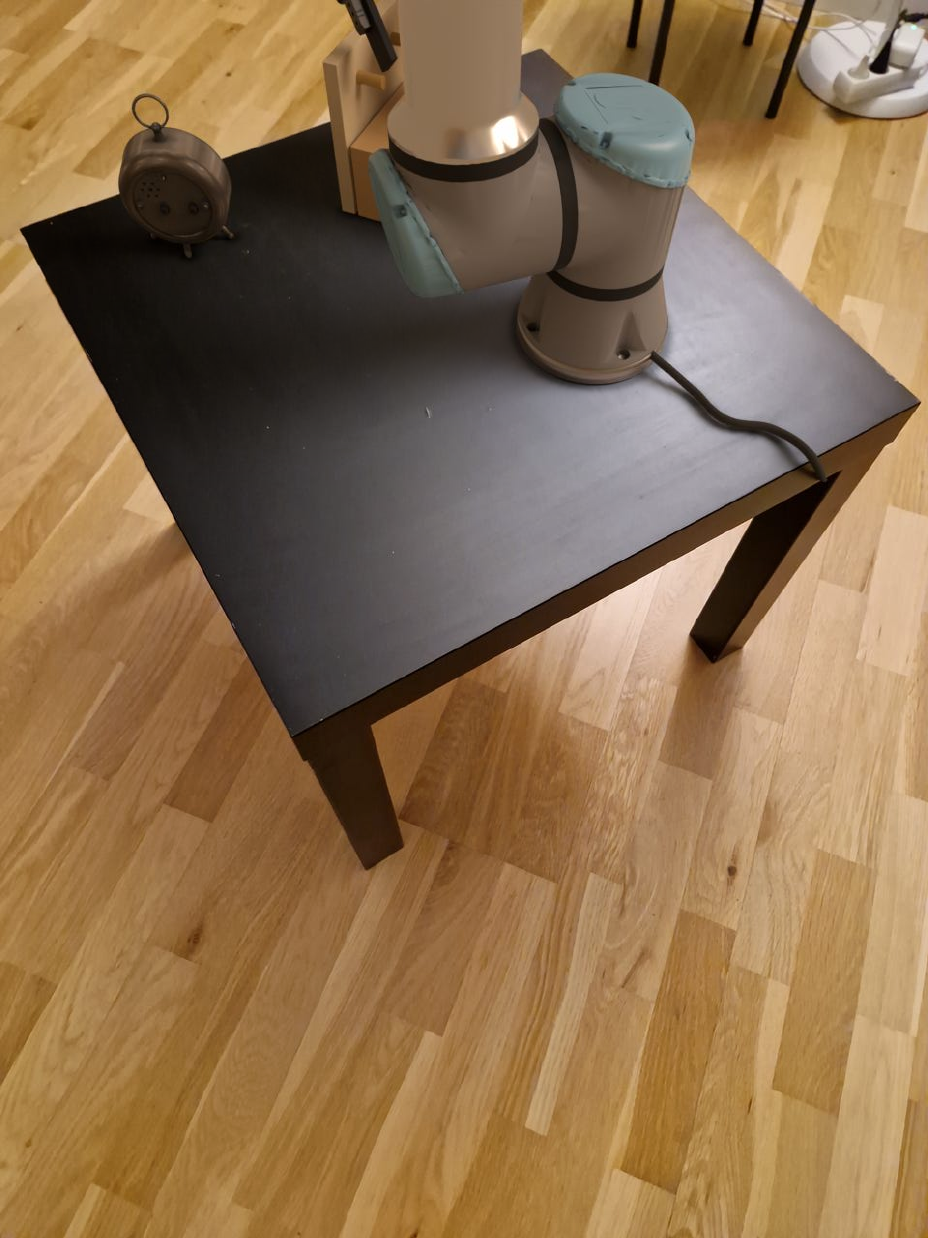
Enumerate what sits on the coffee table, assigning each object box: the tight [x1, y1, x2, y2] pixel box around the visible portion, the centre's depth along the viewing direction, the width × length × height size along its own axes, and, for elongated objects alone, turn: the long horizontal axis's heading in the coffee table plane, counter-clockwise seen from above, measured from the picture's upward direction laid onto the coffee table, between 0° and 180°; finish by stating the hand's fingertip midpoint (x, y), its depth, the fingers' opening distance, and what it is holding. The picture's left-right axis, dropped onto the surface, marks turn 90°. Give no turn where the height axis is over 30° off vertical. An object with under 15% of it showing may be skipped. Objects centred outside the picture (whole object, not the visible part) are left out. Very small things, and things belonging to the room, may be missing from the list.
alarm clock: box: [117, 93, 234, 258], centre depth 85 cm, size 11×5×16 cm, turn 92°
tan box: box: [321, 0, 404, 223], centre depth 90 cm, size 16×16×16 cm
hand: (446, 43), depth 82 cm, fingers open, 13 cm apart
